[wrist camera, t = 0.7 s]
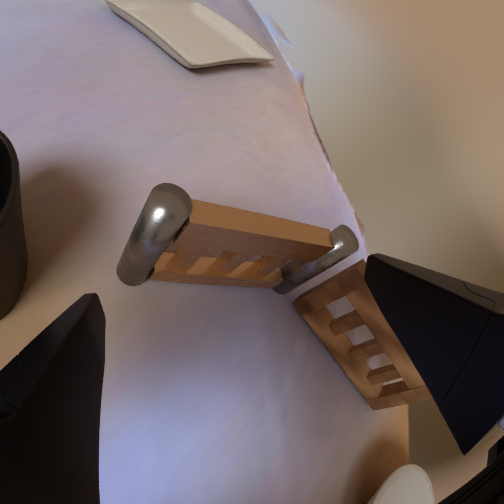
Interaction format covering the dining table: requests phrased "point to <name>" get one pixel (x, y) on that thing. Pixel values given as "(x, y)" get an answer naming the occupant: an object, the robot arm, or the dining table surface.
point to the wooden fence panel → (226, 245)
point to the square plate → (190, 32)
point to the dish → (405, 487)
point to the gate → (353, 356)
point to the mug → (10, 228)
